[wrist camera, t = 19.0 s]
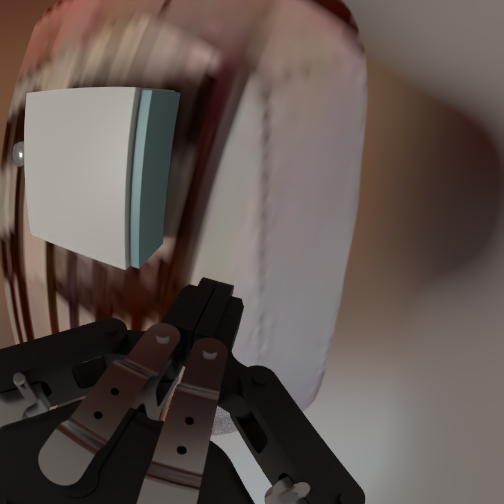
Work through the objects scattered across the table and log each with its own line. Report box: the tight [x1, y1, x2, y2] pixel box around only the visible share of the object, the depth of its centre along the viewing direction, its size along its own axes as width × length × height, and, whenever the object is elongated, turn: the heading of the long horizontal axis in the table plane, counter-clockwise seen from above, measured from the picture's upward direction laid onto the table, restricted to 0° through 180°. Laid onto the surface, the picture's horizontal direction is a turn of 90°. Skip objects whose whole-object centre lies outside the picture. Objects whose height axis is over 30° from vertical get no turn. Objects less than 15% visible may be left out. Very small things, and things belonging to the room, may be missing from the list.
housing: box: [24, 87, 175, 270], centre depth 28 cm, size 18×16×8 cm
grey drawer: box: [131, 90, 181, 268], centre depth 27 cm, size 18×16×6 cm
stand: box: [13, 141, 24, 166], centre depth 30 cm, size 4×4×4 cm
